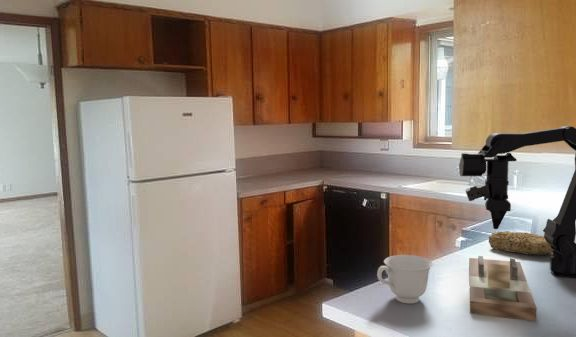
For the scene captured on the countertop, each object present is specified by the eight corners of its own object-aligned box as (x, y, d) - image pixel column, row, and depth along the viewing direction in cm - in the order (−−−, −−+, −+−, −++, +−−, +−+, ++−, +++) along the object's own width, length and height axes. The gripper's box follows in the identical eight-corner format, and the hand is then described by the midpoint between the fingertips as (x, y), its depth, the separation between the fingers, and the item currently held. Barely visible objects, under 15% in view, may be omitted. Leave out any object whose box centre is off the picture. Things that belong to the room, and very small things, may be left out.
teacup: (365, 296, 123) (365, 259, 122) (412, 287, 128) (412, 252, 127) (391, 314, 112) (392, 273, 111) (442, 303, 117) (443, 265, 116)
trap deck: (519, 271, 139) (520, 250, 139) (536, 321, 107) (537, 293, 106) (469, 267, 144) (469, 246, 144) (470, 312, 112) (470, 286, 111)
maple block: (507, 281, 123) (508, 265, 123) (509, 288, 119) (510, 271, 118) (487, 279, 125) (487, 263, 124) (488, 286, 120) (488, 269, 120)
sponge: (486, 254, 162) (547, 255, 146) (485, 231, 163) (544, 229, 147) (506, 253, 169) (565, 254, 154) (504, 232, 171) (563, 230, 155)
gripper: (467, 171, 148) (466, 220, 150) (467, 180, 131) (466, 234, 133) (506, 172, 144) (504, 222, 146) (511, 181, 127) (509, 237, 129)
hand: (495, 228), depth 138 cm, fingers closed
